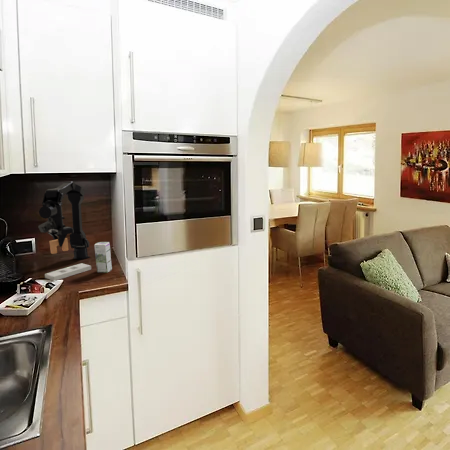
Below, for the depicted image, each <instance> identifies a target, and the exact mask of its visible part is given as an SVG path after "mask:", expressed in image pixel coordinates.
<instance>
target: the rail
mask: <svg viewBox="0 0 450 450" xmlns="http://www.w3.org/2000/svg"><path fill="white" fill-rule="evenodd" d="M91 270H92V265H89V264H85V263H82V262H81V263H78V264H74V265H70V266H68V267H64V268H59V269H57V270H52V271H50V272H47V273H44V279H47V280H50V281H53V280H56V281H59V280H63V279H65V278H69V277H71V276H75V275H78V274H80V273H81V274H82V273H84V272H87V271H91Z"/></svg>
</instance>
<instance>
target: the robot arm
mask: <svg viewBox="0 0 450 450" xmlns="http://www.w3.org/2000/svg"><path fill="white" fill-rule="evenodd" d="M64 195H66V196H67V200H68V201H69V202H70V204H71V215H72V216H71V217H72V226H66V224H64V220H65V219H66V217H65V216H63V208H62V207H63V204H64V203H63V199H64V198H65V197H64ZM84 199H85V191H84V189H83V187H82V186H80V185H78V184H76V183H75V181H64V182H63V183H62V184H60V185H58V186H57V187H56V188H48V189H46V190H45V192H44V194H43V198H42V203H41V205H42V206H41V207H40V208H39V211H38V213H39V216H40V217H41V218H43V219H47V221H45V222H43V223H41V224H39V225H37V226H38V229H39V231H40V233H44V234H45V233H47V234H49V235H50V236H51V237H52V239H53V240H56V239H58V242H59V246H58V247H60V248H62V245H63V243H64V240H65V238H67V235H69V244H70V247H71V248H70V249H72V250H73V259H74V260H79V261H81V260H85V259H88V258H90V256H89V254H88V248H90V241H89V239H87V235H86V233H85V231H84V230H83V218H82V217H83V216H82V203H83V202H84ZM63 219H64V220H63Z"/></svg>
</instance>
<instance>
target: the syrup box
mask: <svg viewBox="0 0 450 450" xmlns="http://www.w3.org/2000/svg"><path fill="white" fill-rule="evenodd" d="M94 254H95V255H94V256H95V263H96V264H95V266H96V272H97V273H109V272H111V271H112V270H113V266H112V258H111V257H112V255H111V245H110V241H99V242H98V241H97V242H96V243H95V244H94Z"/></svg>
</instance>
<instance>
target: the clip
mask: <svg viewBox="0 0 450 450" xmlns="http://www.w3.org/2000/svg"><path fill="white" fill-rule="evenodd" d="M68 241H69V240H68V237H66V238H65V240H64V243H63V245H62V247H61V250H62V251H63V252H66V251H69V250H70V249H69V242H68ZM48 242H49V248H50V254H52V255H55V254H58V248H57V247H60V246H59V242H58V239H56V240H54V239H53V240H49V241H48Z"/></svg>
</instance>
